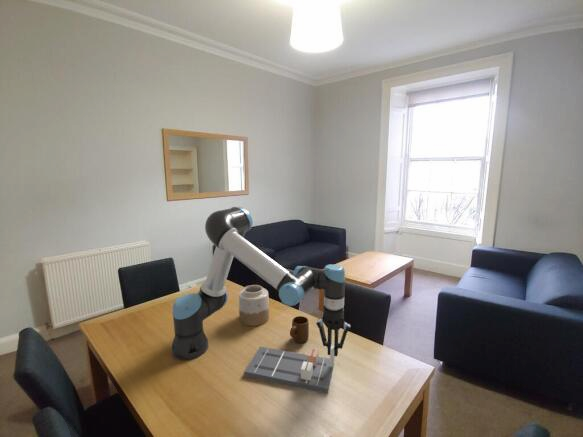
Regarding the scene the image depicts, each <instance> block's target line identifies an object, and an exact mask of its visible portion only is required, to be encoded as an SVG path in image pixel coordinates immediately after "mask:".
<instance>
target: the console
mask: <svg viewBox="0 0 583 437" xmlns="http://www.w3.org/2000/svg"><path fill="white" fill-rule="evenodd" d="M304 361H305V362H307V354H305V353H299V352H293V351H288V350H281V349H277V348H270V347H265V346H259V347H258V349H257V351H256V352H255V354H254V356H253V357H252V359H251V360H250V362H249V363H248V365H247V367H246V369H245V370H244V372H243V373H244V374H243V375H244V377H245V378H251V379H255V380H261V381H266V382H271V383H277V384H279V385H280V384H281V385H284V386H289V387H294V388H299V389H304V390H309V391H314V392H318V393H323V394H329V391H330V385H331V381H332V378H333V373H334V372H333V371H334V366H335V364H334V365H331V364H330V358H326V357H320V356H318V362H317V365H316V366H313V374H312V377H311V380H305V379H301V367H302V364H303V362H304Z"/></svg>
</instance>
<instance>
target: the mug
mask: <svg viewBox="0 0 583 437" xmlns="http://www.w3.org/2000/svg"><path fill="white" fill-rule="evenodd" d="M309 327H310V326H309V318H308V317H305V316H302V315H298V316H295V317H293V318H292V321H291V327H290V330H289V335H290V337H291V338H292V340H293V341H294V343H297V344H304V343H307V341H308V340H309V335H310V334H309V333H310V332H309V331H310V329H309Z"/></svg>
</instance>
